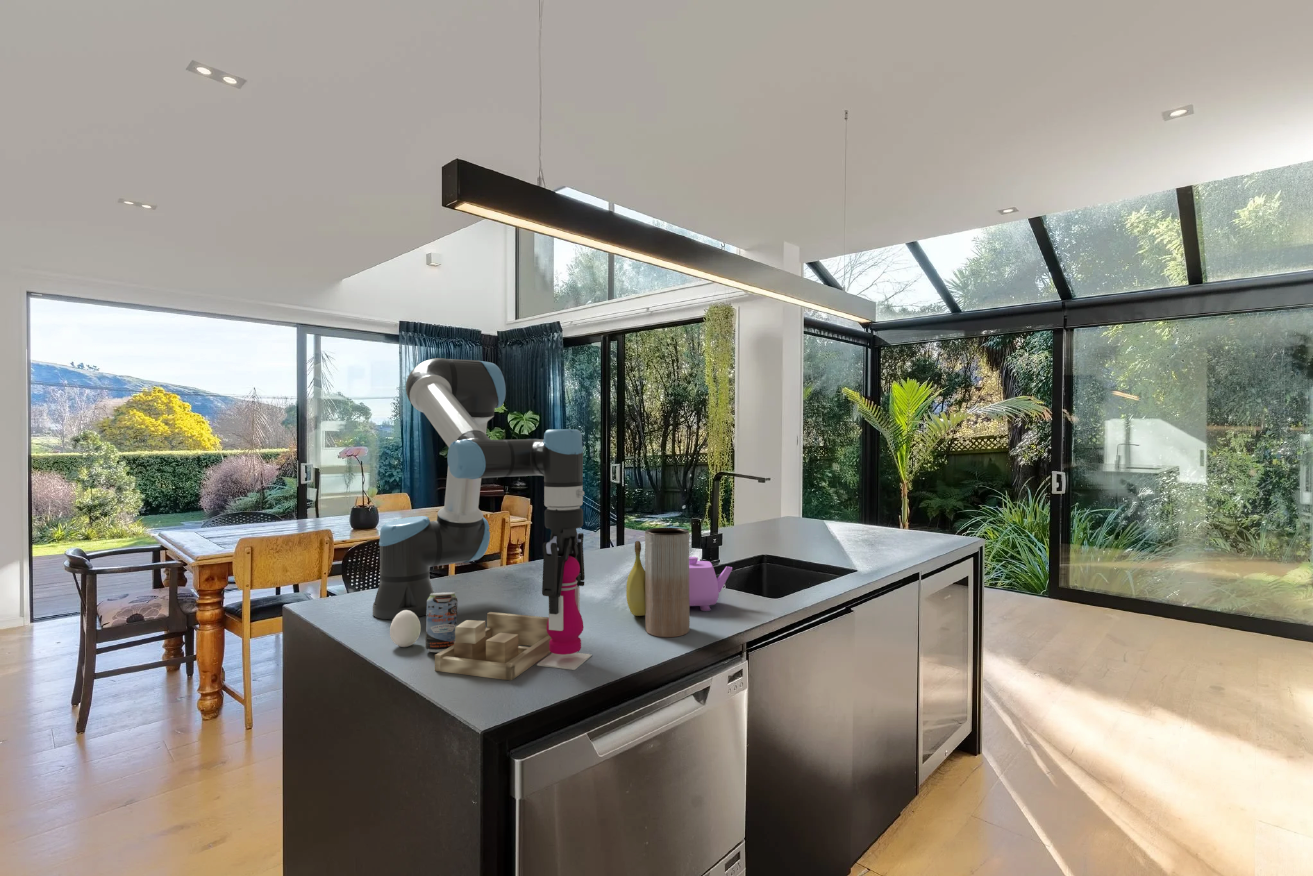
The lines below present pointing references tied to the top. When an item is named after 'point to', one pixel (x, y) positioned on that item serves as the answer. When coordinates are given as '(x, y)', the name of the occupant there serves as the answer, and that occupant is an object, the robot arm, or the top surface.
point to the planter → (667, 582)
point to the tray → (529, 634)
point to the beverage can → (441, 621)
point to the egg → (405, 628)
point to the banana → (636, 585)
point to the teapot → (705, 583)
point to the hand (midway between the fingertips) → (564, 624)
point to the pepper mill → (568, 614)
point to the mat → (564, 660)
